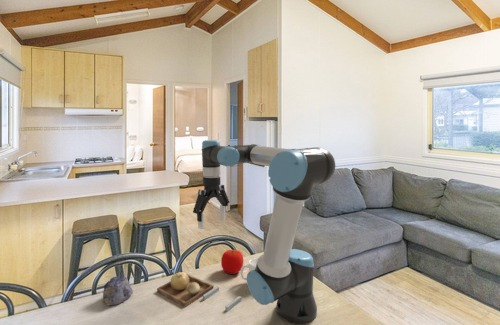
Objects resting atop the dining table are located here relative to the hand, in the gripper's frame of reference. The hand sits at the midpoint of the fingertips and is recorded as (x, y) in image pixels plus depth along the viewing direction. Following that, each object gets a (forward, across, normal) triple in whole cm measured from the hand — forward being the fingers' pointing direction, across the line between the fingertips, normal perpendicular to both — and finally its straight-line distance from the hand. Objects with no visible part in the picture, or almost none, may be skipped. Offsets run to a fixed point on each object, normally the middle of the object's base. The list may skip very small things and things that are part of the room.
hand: (212, 224), depth 130 cm
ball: (+26, +13, +1) cm, 29 cm away
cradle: (+27, +9, +13) cm, 31 cm away
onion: (+26, +13, -8) cm, 30 cm away
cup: (+27, -9, +16) cm, 33 cm away
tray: (+27, +13, -4) cm, 30 cm away
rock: (+27, +33, -22) cm, 48 cm away
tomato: (+27, -12, +2) cm, 29 cm away
